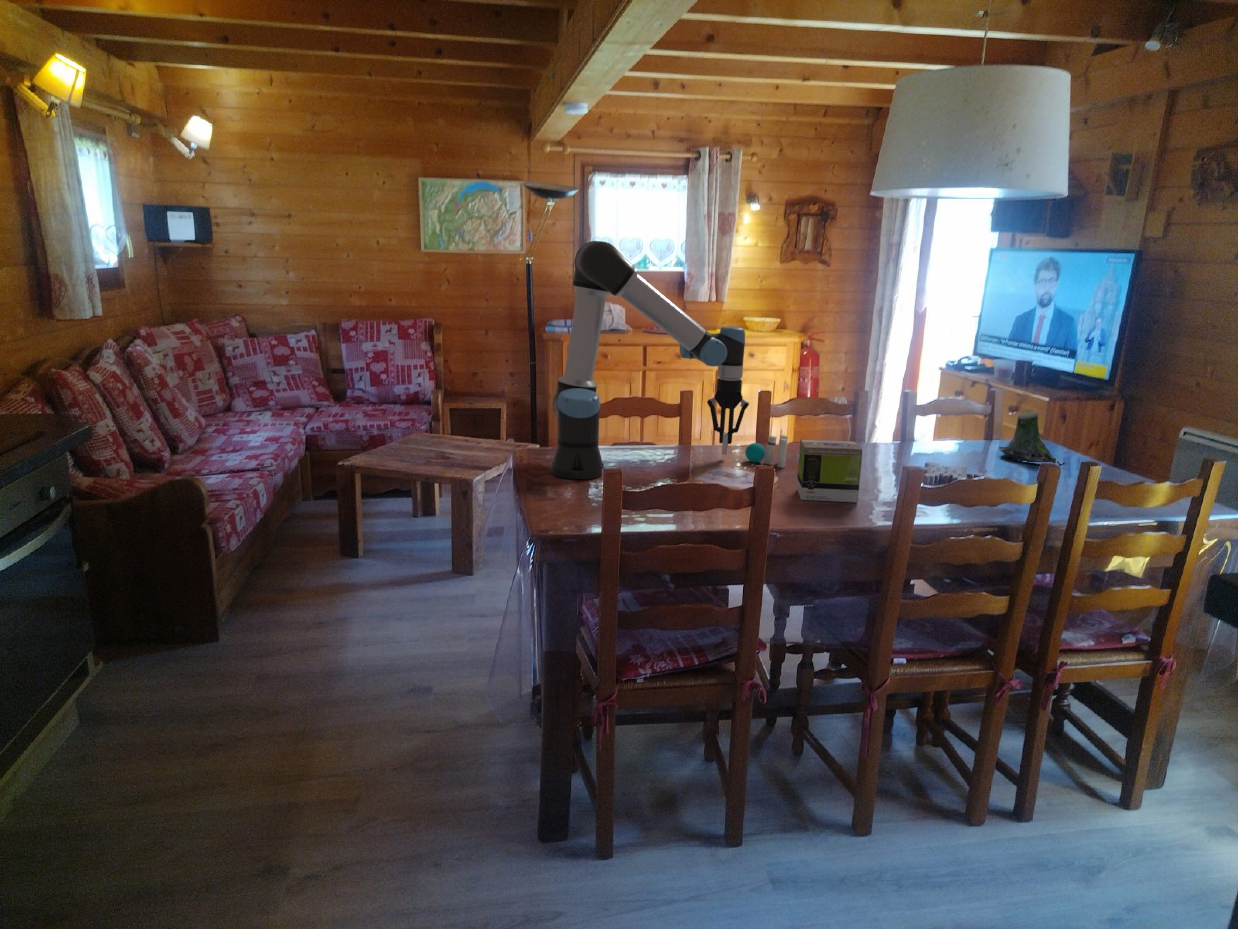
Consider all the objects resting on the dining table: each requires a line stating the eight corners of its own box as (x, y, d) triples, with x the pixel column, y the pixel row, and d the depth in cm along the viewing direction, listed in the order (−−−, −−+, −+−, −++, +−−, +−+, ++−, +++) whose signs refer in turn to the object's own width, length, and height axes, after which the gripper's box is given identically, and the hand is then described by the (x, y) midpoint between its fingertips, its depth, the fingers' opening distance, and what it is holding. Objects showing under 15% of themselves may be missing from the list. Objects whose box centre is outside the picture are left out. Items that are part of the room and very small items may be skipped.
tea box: (851, 493, 222) (856, 440, 218) (857, 504, 212) (864, 449, 208) (795, 489, 223) (800, 437, 219) (799, 500, 214) (804, 446, 210)
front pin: (762, 462, 249) (767, 436, 247) (766, 461, 251) (771, 435, 249) (769, 464, 248) (773, 438, 245) (773, 463, 249) (778, 437, 247)
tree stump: (1079, 468, 258) (1078, 415, 253) (1019, 482, 258) (1017, 429, 252) (1045, 451, 276) (1043, 401, 270) (989, 464, 275) (986, 414, 269)
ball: (771, 454, 248) (759, 469, 250) (764, 444, 253) (752, 458, 255) (758, 446, 245) (745, 461, 247) (751, 436, 250) (738, 450, 252)
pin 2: (775, 466, 246) (777, 439, 244) (779, 465, 248) (782, 438, 246) (782, 468, 245) (784, 440, 242) (786, 466, 246) (788, 439, 244)
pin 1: (776, 462, 251) (778, 435, 249) (780, 461, 253) (782, 434, 250) (782, 464, 249) (785, 437, 247) (786, 462, 251) (789, 436, 249)
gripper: (752, 378, 248) (746, 452, 254) (709, 375, 251) (705, 449, 257) (750, 381, 241) (744, 458, 247) (706, 378, 244) (702, 454, 250)
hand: (724, 453), depth 252 cm, fingers closed
